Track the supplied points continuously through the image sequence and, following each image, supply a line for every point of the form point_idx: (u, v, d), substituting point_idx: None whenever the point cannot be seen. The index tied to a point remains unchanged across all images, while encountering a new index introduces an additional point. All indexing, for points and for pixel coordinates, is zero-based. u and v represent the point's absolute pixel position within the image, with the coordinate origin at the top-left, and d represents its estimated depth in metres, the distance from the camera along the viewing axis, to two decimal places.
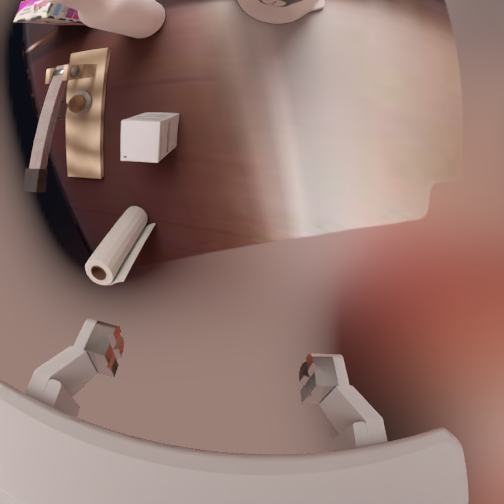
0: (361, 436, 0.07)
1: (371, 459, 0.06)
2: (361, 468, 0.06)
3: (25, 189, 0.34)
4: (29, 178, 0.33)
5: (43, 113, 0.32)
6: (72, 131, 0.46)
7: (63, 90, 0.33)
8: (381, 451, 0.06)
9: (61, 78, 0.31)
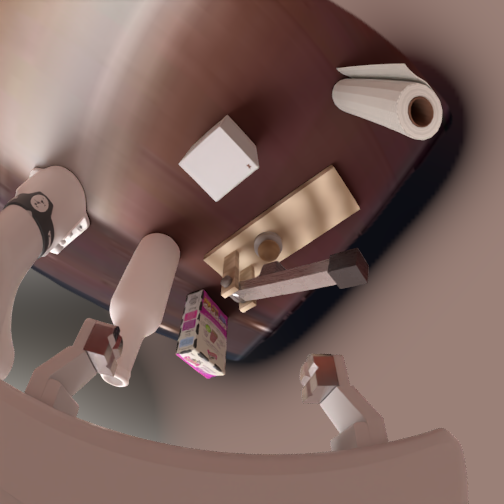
0: (362, 436, 0.07)
1: (371, 459, 0.06)
2: (361, 468, 0.06)
3: (363, 280, 0.32)
4: (347, 279, 0.33)
5: (277, 292, 0.41)
6: (306, 234, 0.51)
7: (248, 281, 0.44)
8: (381, 451, 0.06)
9: (238, 292, 0.45)
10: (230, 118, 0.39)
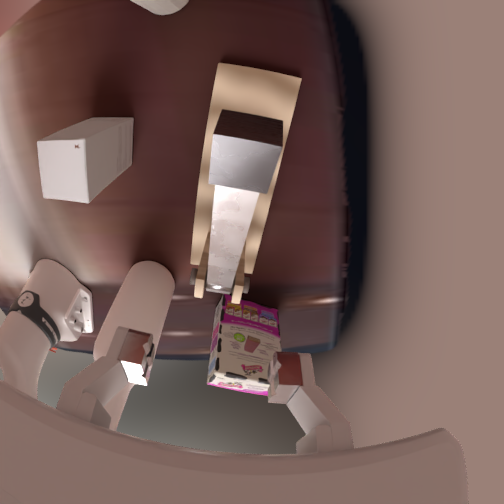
0: (324, 440, 0.07)
1: (371, 459, 0.06)
2: (361, 468, 0.06)
3: (267, 148, 0.14)
4: (248, 170, 0.16)
5: (232, 257, 0.26)
6: None
7: None
8: (381, 451, 0.06)
9: (209, 281, 0.32)
10: (93, 118, 0.30)
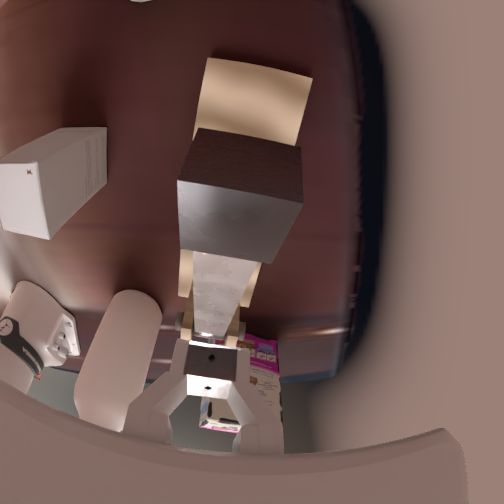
0: (249, 441, 0.07)
1: (371, 459, 0.06)
2: (361, 468, 0.06)
3: (277, 205, 0.08)
4: (241, 235, 0.10)
5: (223, 314, 0.20)
6: None
7: None
8: (381, 451, 0.06)
9: (198, 330, 0.26)
10: (62, 128, 0.24)
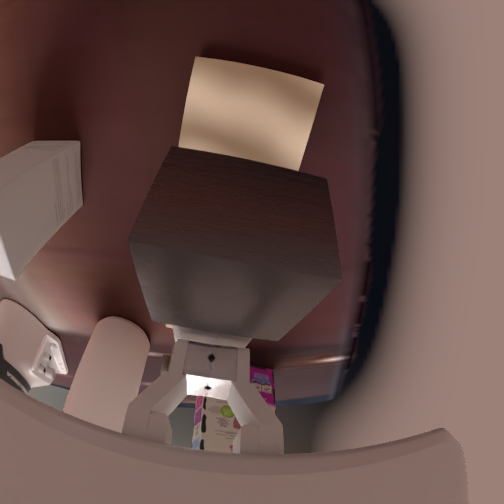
0: (249, 441, 0.07)
1: (371, 459, 0.06)
2: (361, 468, 0.06)
3: (298, 281, 0.05)
4: (237, 314, 0.06)
5: None
6: None
7: None
8: (381, 451, 0.06)
9: None
10: (32, 142, 0.19)
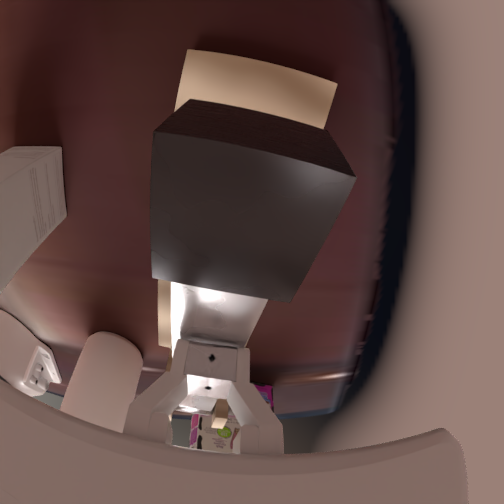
0: (249, 441, 0.07)
1: (371, 459, 0.06)
2: (361, 468, 0.06)
3: (315, 180, 0.05)
4: (250, 247, 0.06)
5: None
6: None
7: None
8: (381, 451, 0.06)
9: (179, 404, 0.19)
10: (13, 148, 0.16)
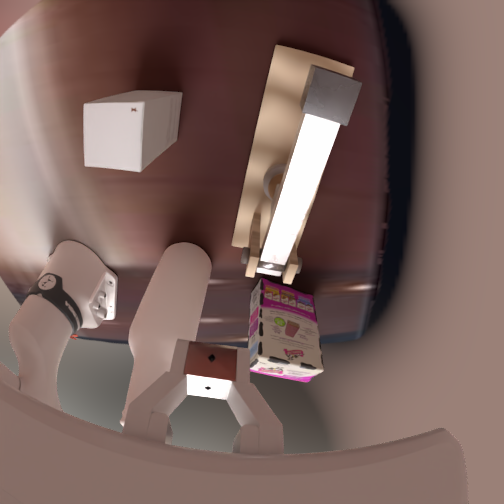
0: (249, 441, 0.07)
1: (371, 459, 0.06)
2: (361, 468, 0.06)
3: (352, 83, 0.17)
4: (336, 101, 0.18)
5: (298, 213, 0.27)
6: None
7: (266, 233, 0.31)
8: (381, 451, 0.06)
9: (264, 255, 0.31)
10: (137, 90, 0.29)
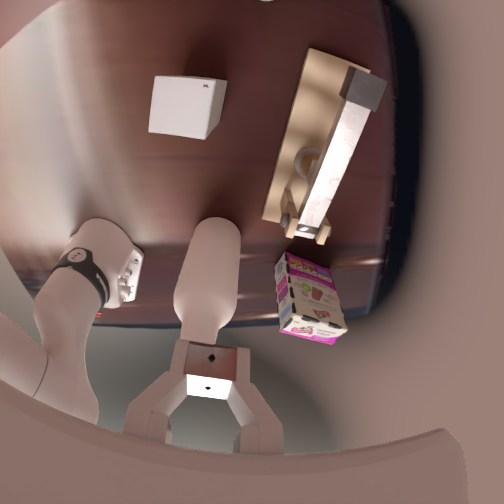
0: (249, 441, 0.07)
1: (371, 459, 0.06)
2: (361, 468, 0.06)
3: (380, 81, 0.22)
4: (369, 93, 0.23)
5: (334, 180, 0.32)
6: None
7: (304, 200, 0.36)
8: (381, 451, 0.06)
9: (303, 218, 0.36)
10: None
